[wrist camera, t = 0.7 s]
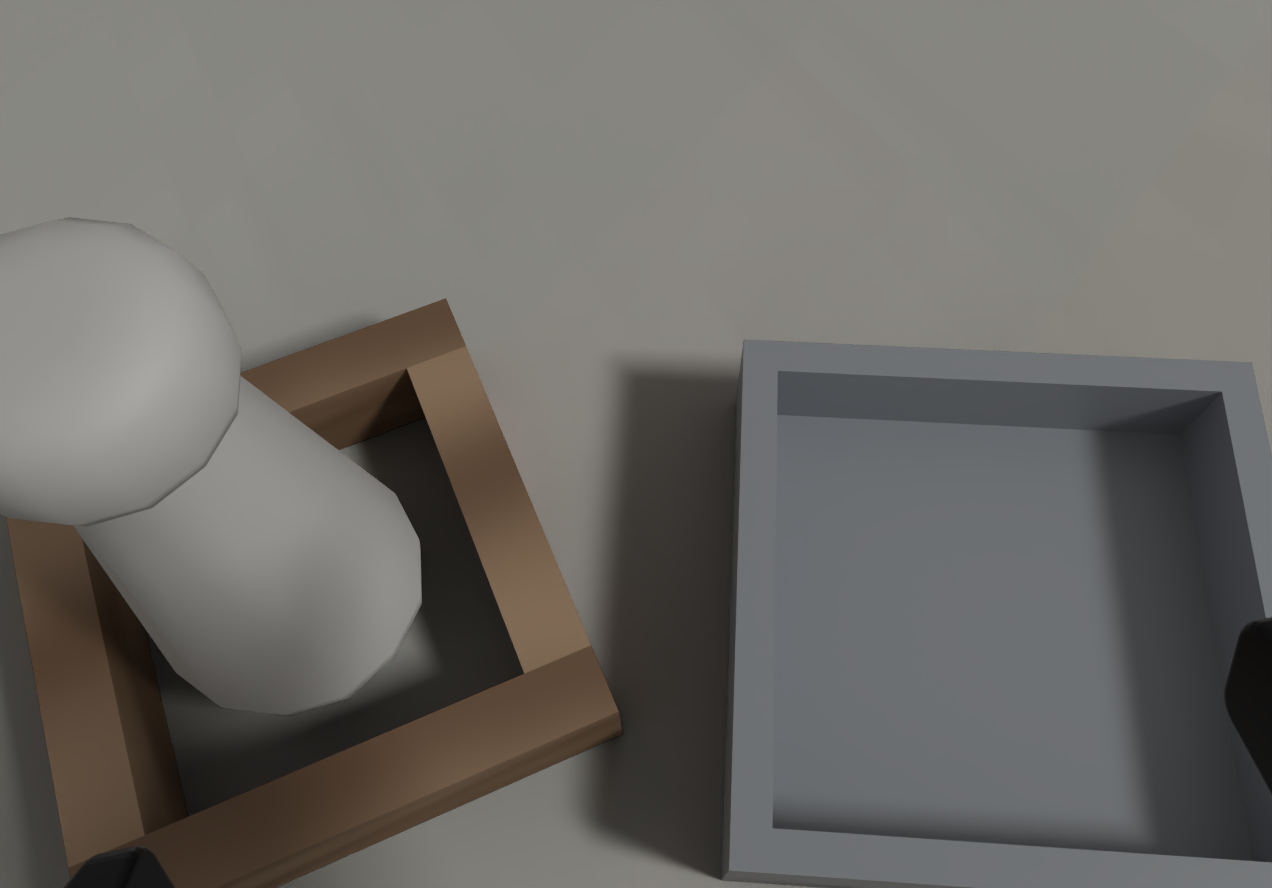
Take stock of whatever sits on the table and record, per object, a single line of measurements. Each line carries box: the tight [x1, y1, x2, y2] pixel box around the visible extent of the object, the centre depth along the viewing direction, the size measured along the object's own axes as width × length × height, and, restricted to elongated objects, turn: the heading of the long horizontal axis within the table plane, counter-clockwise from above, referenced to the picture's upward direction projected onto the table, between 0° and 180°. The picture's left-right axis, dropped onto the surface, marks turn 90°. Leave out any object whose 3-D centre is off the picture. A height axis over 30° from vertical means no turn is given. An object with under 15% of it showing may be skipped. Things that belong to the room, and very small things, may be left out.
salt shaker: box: [0, 218, 422, 716], centre depth 20 cm, size 6×6×13 cm
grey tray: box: [721, 340, 1272, 888], centre depth 23 cm, size 12×12×3 cm
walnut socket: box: [6, 298, 623, 888], centre depth 24 cm, size 11×11×2 cm
